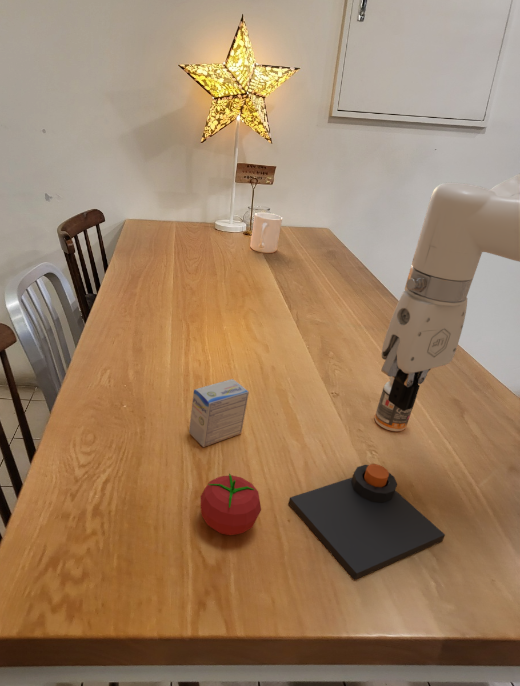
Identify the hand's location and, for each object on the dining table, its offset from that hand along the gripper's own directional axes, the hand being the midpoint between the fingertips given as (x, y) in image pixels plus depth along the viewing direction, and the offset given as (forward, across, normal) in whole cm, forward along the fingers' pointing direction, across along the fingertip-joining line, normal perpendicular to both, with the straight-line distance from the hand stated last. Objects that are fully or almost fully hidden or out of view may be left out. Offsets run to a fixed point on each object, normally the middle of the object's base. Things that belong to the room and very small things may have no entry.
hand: (399, 404), depth 77 cm
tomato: (+14, -26, +1) cm, 30 cm away
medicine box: (+14, -18, +19) cm, 30 cm away
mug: (+14, +50, +106) cm, 118 cm away
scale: (+14, -9, -6) cm, 17 cm away
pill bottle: (+14, +14, +10) cm, 22 cm away
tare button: (+11, -4, -2) cm, 12 cm away
